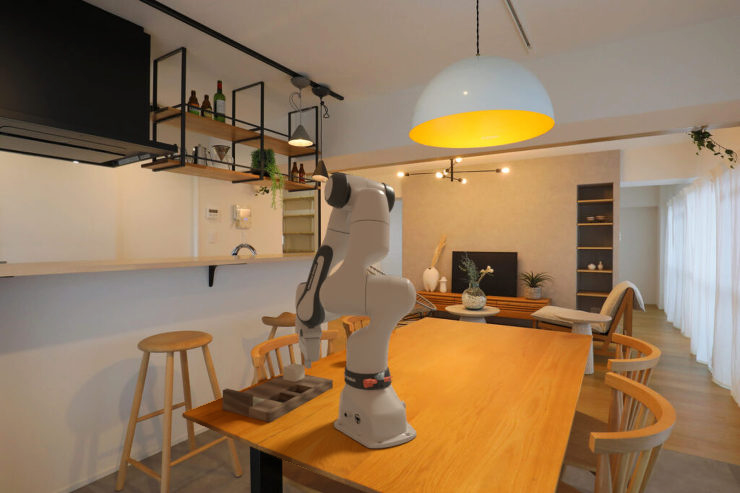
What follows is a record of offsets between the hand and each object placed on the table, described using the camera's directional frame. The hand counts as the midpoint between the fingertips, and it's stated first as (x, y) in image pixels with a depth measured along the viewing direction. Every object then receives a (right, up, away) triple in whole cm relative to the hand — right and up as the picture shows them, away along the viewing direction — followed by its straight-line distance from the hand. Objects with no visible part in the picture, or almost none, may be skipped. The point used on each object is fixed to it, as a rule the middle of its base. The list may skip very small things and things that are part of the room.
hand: (307, 367), depth 143 cm
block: (-4, -2, -7) cm, 8 cm away
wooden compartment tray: (-6, -4, -17) cm, 18 cm away
